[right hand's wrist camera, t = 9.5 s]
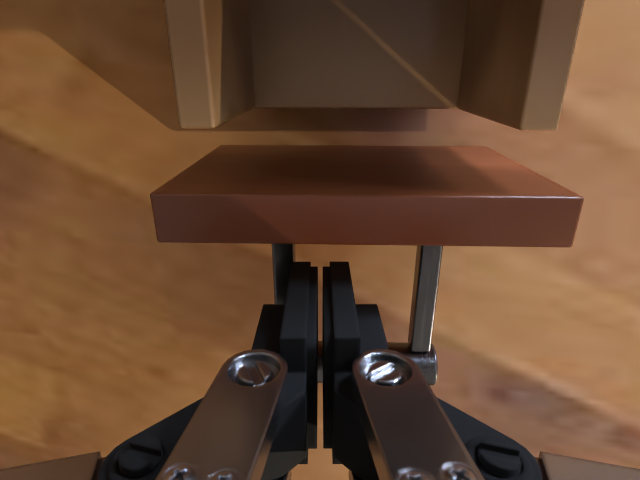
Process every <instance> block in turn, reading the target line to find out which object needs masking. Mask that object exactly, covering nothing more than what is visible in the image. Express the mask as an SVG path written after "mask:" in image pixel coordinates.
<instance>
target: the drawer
mask: <svg viewBox="0 0 640 480" xmlns="http://www.w3.org/2000/svg"><path fill="white" fill-rule="evenodd" d="M584 1H585V0H164V7H165V15H166V23H167V31H168V39H169V47H170V55H171V63H172V71H173V79H174V87H175V95H176V103H177V111H178V119H179V125H180V127H181V128H184V129H212V128H215V127H217V126H219V125H221V124H223V123H225V122H227V121H229V120H231V119H233V118H235V117H237V116H239V115H241V114H243V113H245V112H247V111H249V110H251V109H253V108H358V109H460V110H463V111H466V112H469V113H472V114H475V115H478V116H481V117H483V118H486V119H489V120H492V121H495V122H498V123H501V124H504V125H507V126H510V127H513V128H516V129H519V130H556V129H557V128H558V123H559V119H560V114H561V109H562V105H563V100H564V95H565V90H566V86H567V81H568V76H569V71H570V67H571V62H572V57H573V53H574V48H575V43H576V38H577V34H578V29H579V24H580V19H581V15H582V10H583V5H584ZM150 197H151V203H152V210H153V216H154V222H155V228H156V234H157V240H158V242H188V243H269V244H272V258H273V278H274V299H275V304H285V302H286V296H287V290H288V283H289V277H290V271H291V265H292V262H295V244H349V245H417V253H416V263H415V274H414V284H413V294H412V305H411V315H410V325H409V336H408V342H409V343H395V342H387V345H388V349H389V350H393V351H397V352H399V353H402V354H405V355H406V356H408V357H409V358H411V359H412V360H413V361H414V362H415V363H416V364H417V366H418V367H419V369H420V371H421V372H422V374H423V376H424V377H425V379H426V381H427V383H428V384H429V385H434V384H435V383H436V379H437V356H436V351H435V348H434V346H433V344H431V339H432V331H433V323H434V315H435V307H436V298H437V290H438V282H439V274H440V266H441V257H442V249H443V246H509V247H572V244H573V240H574V236H575V232H576V228H577V224H578V220H579V216H580V212H581V208H582V204H583V201H584V198H583V197H582V196H580V195H578V194H576V193H574V192H572V191H570V190H568V189H566V188H565V187H563V186H561V185H559V184H557V183H555V182H553V181H551V180H549V179H547V178H545V177H544V176H542V175H540V174H538V173H536V172H534V171H532V170H530V169H528V168H526V167H524V166H523V165H521V164H519V163H517V162H515V161H513V160H511V159H509V158H507V157H505V156H503V155H502V154H500V153H498V152H496V151H494V150H492V149H490V148H488V147H473V146H285V145H221V146H219V147H218V148H216V149H215V150H213V151H212V152H210V153H209V154H207V155H206V156H205V157H203V158H202V159H200V160H199V161H197V162H196V163H194V164H193V165H191V166H190V167H188V168H187V169H186V170H184V171H183V172H181V173H180V174H178V175H177V176H175V177H174V178H172V179H171V180H169V181H168V182H167V183H165V184H164V185H162V186H161V187H159V188H158V189H156V190H155V191H153V192H152V193H151V194H150ZM318 383H323V341H318Z"/></svg>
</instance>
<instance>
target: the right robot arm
mask: <svg viewBox="0 0 640 480" xmlns="http://www.w3.org/2000/svg"><path fill="white" fill-rule="evenodd" d="M317 386H318V267H311V263H310V262H292V265H291V271H290V277H289V283H288V290H287V296H286V302H285V304H264V305H263V308H262V312H261V316H260V319H259V323H258V327H257V331H256V335H255V339H254V342H253V346H252V350H247V351H243V352H241V353H238V354H235V355H234V356H232V357H231V358H229V359H228V360H227V361H226V362H225V363H224V364H223V366H222V367H221V369H220V371H219V372H218V374H217V376H216V377H215V379H214V381H213V383H212V384H211V386H210V388H209V389H208V391H207V393H206V394H205V396H204V397H203V398H202V399H200V400H198V401H196V402H194V403H193V404H191V405H189V406H187V407H185V408H184V409H182V410H180V411H178V412H176V413H175V414H173V415H171V416H169V417H167V418H165V419H164V420H162V421H160V422H158V423H156V424H155V425H153V426H151V427H149V428H147V429H146V430H144V431H142V432H140V433H138V434H137V435H135V436H133V437H131V438H129V439H128V440H126V441H124V442H123V443H122V444H120V445H119V446H117V447H116V448H115V449H114V450H113V451H112V452H111V453H110V454H109V455H108V456H107V457H104V458H102V457H101V453H100V451H99V452H93V453H88V454H82V455H77V456H71V457H66V458H60V459H55V460H49V461H44V462H38V463H33V464H27V465H22V466H16V467H10V468H5V469H0V480H291V469H292V468H294V467H295V466H296V465H297V464H308V448H317ZM323 448H332V456H333V464H343V465H344V466H346V467H347V468H348V469H349V480H640V469H635V468H630V467H624V466H618V465H613V464H607V463H602V462H596V461H591V460H585V459H580V458H574V457H569V456H563V455H558V454H552V453H547V452H541V451H540V454H539V458H537V457H533V455H532V454H531V453H530V452H529V451H528V450H527V449H526V448H525V447H523V446H522V445H520V444H519V443H517V442H516V441H514V440H513V439H511V438H509V437H507V436H506V435H504V434H502V433H500V432H498V431H496V430H495V429H493V428H491V427H489V426H487V425H486V424H484V423H482V422H480V421H478V420H477V419H475V418H473V417H471V416H469V415H468V414H466V413H464V412H462V411H460V410H459V409H457V408H455V407H453V406H451V405H450V404H448V403H446V402H444V401H442V400H441V399H439V398H437V397H436V396H435V394H434V393H433V391H432V389H431V388H430V386H429V384H428V383H427V381H426V379H425V377H424V376H423V374H422V372H421V371H420V369H419V367H418V366H417V364H416V363H415V362H414V361H413V360H412V359H411V358H409V357H408V356H406V355H405V354H402V353H399V352H397V351H393V350H389V349H388V345H387V341H386V337H385V333H384V329H383V326H382V322H381V318H380V314H379V310H378V307H377V305H376V304H355V299H354V293H353V287H352V281H351V275H350V268H349V263H348V262H330V267H323Z"/></svg>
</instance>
